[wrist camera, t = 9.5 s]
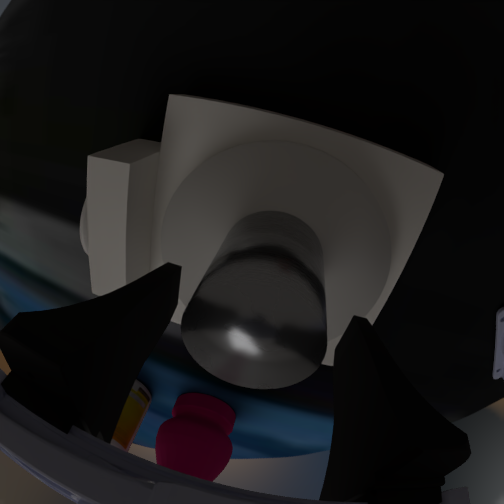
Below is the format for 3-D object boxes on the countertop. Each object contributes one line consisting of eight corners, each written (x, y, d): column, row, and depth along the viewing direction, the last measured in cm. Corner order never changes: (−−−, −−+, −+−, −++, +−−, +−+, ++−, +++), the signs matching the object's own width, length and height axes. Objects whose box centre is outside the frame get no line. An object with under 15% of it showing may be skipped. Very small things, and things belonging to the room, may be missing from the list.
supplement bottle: (106, 361, 28) (59, 437, 19) (154, 383, 28) (114, 467, 19) (109, 388, 30) (70, 455, 21) (152, 408, 30) (118, 480, 21)
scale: (430, 165, 14) (474, 194, 10) (343, 348, 21) (346, 406, 16) (140, 89, 15) (82, 91, 10) (126, 284, 22) (89, 329, 17)
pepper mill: (164, 406, 29) (98, 560, 12) (186, 378, 26) (106, 574, 9) (222, 433, 30) (176, 586, 13) (253, 410, 27) (206, 601, 9)
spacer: (334, 286, 15) (341, 377, 10) (246, 308, 17) (220, 394, 12) (303, 196, 13) (300, 262, 8) (206, 229, 15) (155, 301, 10)
